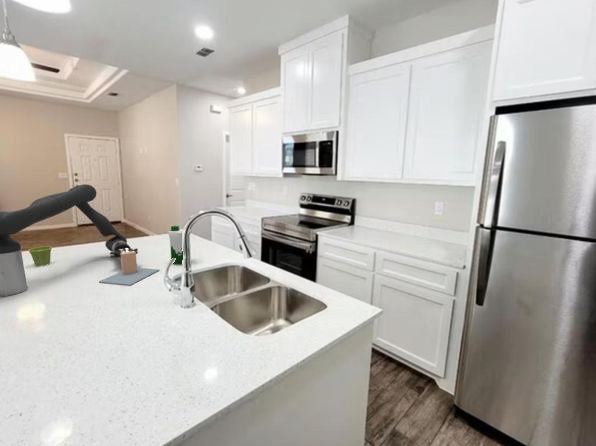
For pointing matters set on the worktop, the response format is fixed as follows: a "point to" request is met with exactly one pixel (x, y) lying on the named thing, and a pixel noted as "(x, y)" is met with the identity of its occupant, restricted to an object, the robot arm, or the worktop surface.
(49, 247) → the plant pot
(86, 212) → the robot arm
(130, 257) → the terracotta block
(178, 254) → the milk carton
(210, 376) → the worktop surface
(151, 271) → the mat
